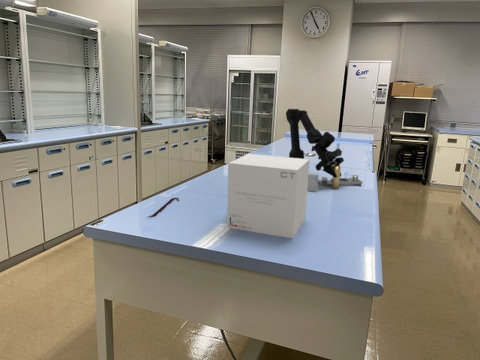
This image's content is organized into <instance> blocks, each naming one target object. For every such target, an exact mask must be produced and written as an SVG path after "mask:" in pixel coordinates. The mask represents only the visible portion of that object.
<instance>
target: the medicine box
mask: <svg viewBox="0 0 480 360" xmlns="http://www.w3.org/2000/svg"><path fill="white" fill-rule="evenodd" d="M318 180H319V173H312V172H309V174H308V187H307V192H315V193H317V191H318V185H319V184H318Z"/></svg>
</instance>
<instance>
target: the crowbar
mask: <svg viewBox="0 0 480 360" xmlns="http://www.w3.org/2000/svg"><path fill="white" fill-rule="evenodd" d="M174 199H178V200H177V201H179V202H180V198H179V197H172V198H171V199H169V200H168V201H167V202H166V203H164V204H163V206H161V207H160V208H159V209H157V211H155V212H154V213H153V214H152V215H148V218H150V217H154V216H155V217H157V216H158V215H159V214H160V213H161V212H163V210H164V209H165V208H166V206H167V205H168V204H169V205H170V204H171V203H172V202H173V201H175V200H174ZM169 205H168V206H169ZM168 206H167V207H168ZM159 212H160V213H159ZM158 213H159V214H158ZM157 214H158V215H157ZM156 215H157V216H156ZM155 217H154V218H155Z"/></svg>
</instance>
